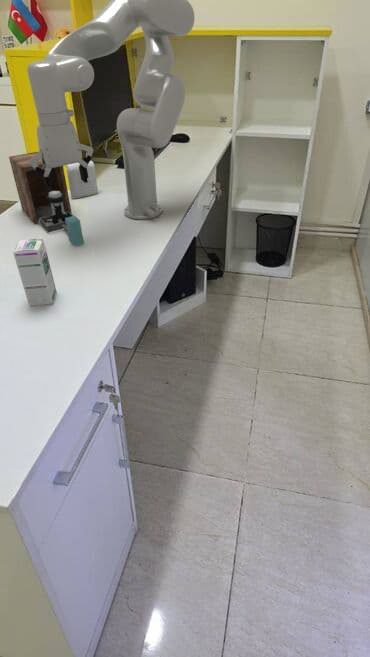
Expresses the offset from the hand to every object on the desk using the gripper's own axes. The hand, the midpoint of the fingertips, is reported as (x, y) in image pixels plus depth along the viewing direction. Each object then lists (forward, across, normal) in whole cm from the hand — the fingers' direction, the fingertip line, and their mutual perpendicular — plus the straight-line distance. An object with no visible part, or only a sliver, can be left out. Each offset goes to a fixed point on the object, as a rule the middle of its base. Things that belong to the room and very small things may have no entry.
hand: (68, 185), depth 122 cm
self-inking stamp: (+17, +1, -17) cm, 24 cm away
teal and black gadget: (+17, +1, -8) cm, 18 cm away
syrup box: (+16, +19, +24) cm, 35 cm away
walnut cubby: (+17, +1, -27) cm, 32 cm away
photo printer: (+18, -16, -36) cm, 43 cm away
